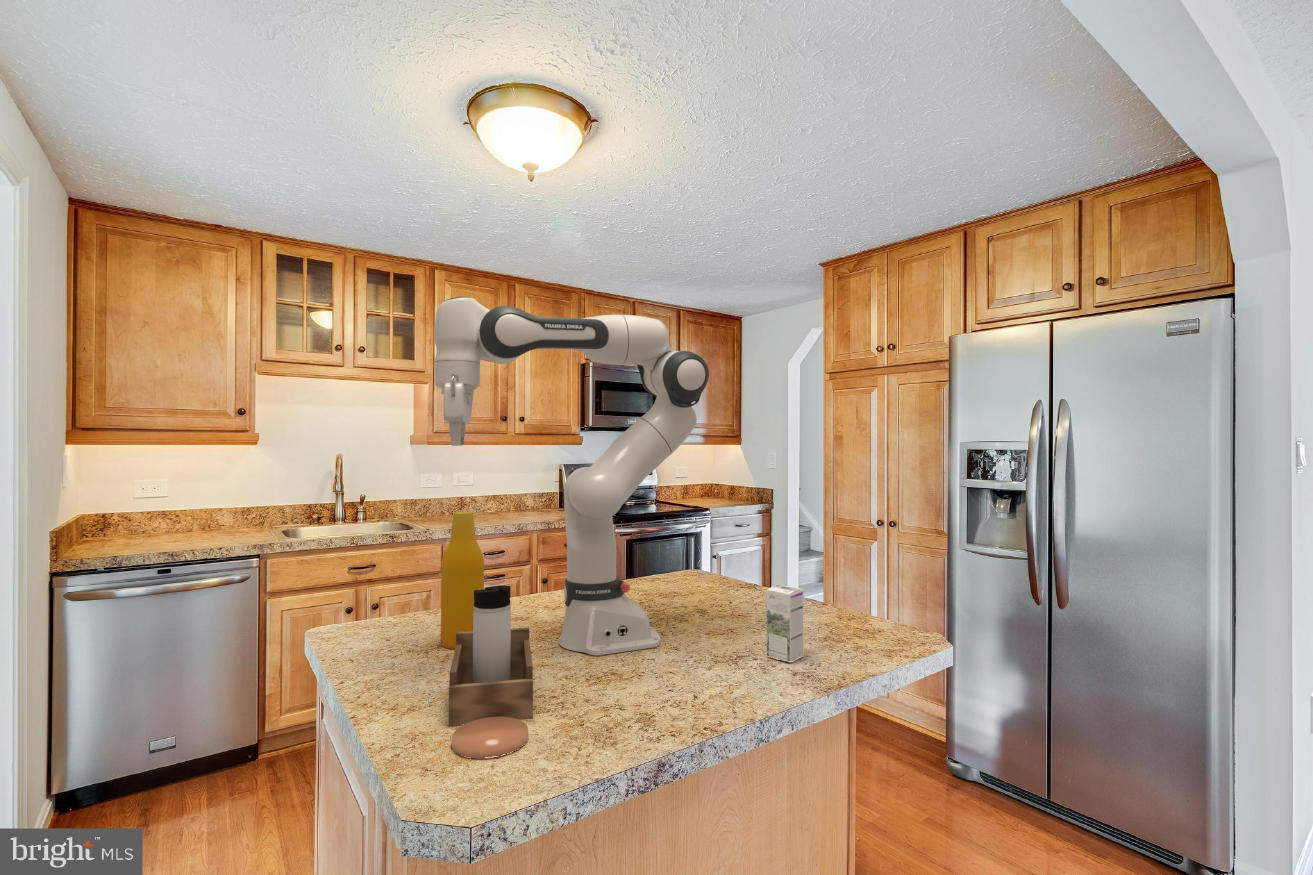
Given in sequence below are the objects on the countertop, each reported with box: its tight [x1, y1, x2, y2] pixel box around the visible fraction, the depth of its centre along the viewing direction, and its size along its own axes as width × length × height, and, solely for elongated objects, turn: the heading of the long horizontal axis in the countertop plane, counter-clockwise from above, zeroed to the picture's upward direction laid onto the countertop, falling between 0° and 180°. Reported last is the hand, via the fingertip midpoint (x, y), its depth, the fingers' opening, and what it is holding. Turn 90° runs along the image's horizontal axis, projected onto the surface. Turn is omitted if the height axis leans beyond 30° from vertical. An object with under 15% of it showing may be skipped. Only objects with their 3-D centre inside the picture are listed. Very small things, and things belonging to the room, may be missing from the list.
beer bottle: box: [439, 511, 485, 650], centre depth 139 cm, size 9×9×29 cm
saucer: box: [451, 717, 529, 758], centre depth 93 cm, size 11×11×1 cm
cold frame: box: [448, 627, 534, 727], centre depth 107 cm, size 13×16×10 cm
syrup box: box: [766, 584, 804, 661], centre depth 130 cm, size 6×6×14 cm
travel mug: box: [473, 584, 512, 683], centre depth 107 cm, size 6×7×20 cm
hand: (457, 445), depth 127 cm, fingers open, 8 cm apart
